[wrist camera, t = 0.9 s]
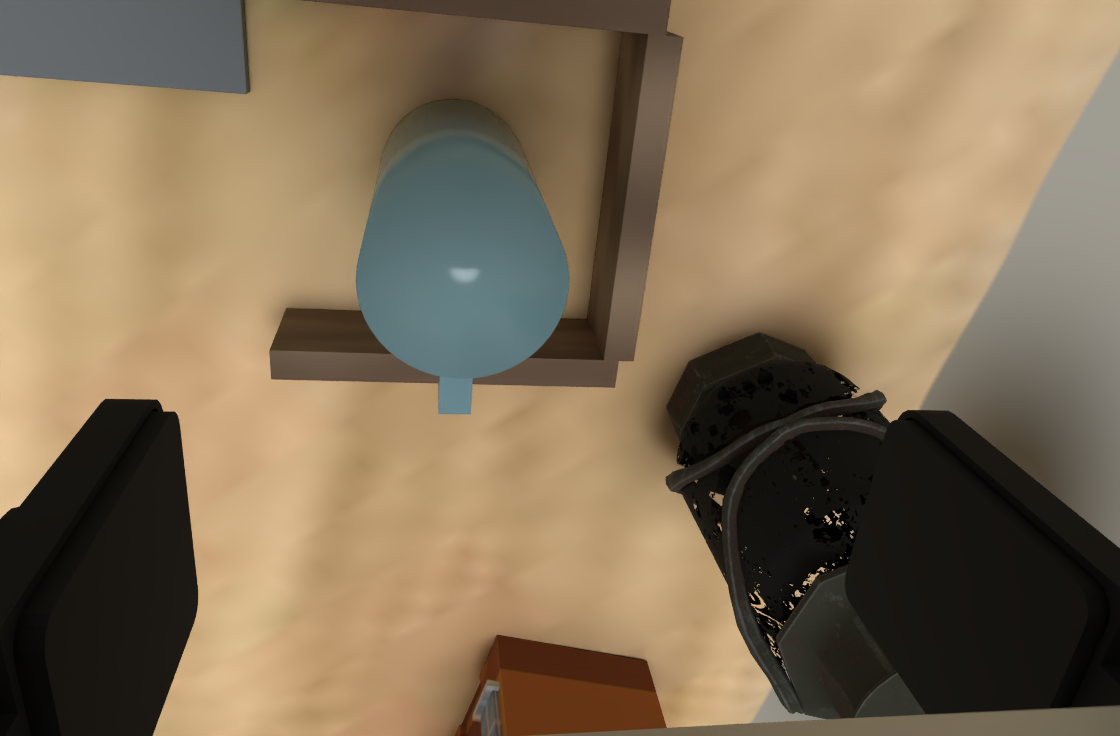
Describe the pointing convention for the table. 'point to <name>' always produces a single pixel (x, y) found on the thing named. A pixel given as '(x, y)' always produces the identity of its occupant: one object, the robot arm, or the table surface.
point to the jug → (459, 250)
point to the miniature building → (559, 692)
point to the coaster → (128, 42)
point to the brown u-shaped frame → (624, 227)
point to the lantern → (787, 516)
